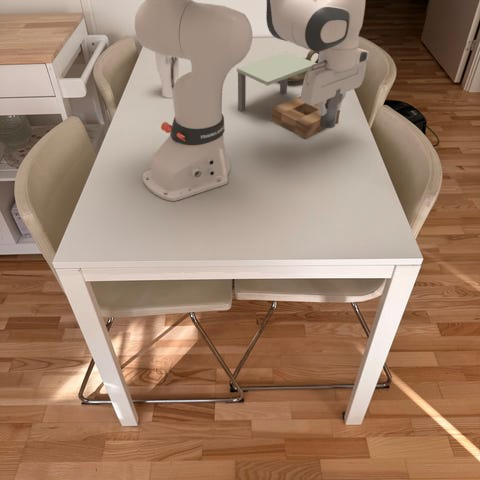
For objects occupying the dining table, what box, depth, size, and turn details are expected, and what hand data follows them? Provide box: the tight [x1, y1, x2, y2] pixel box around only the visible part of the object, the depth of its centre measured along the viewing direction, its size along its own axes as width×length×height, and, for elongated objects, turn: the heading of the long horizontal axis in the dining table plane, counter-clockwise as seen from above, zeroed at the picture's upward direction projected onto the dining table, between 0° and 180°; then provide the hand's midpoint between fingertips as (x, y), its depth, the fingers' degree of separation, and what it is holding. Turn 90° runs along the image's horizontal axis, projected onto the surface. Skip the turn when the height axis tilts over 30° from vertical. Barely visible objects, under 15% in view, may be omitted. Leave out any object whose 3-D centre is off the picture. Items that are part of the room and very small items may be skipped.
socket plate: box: [270, 95, 341, 139], centre depth 134 cm, size 14×14×4 cm
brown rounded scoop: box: [287, 50, 319, 82], centre depth 155 cm, size 14×18×10 cm
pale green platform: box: [236, 51, 317, 113], centre depth 138 cm, size 20×13×13 cm, turn 131°
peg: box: [320, 89, 341, 129], centre depth 116 cm, size 4×4×10 cm
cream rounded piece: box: [154, 52, 180, 99], centre depth 144 cm, size 7×7×15 cm
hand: (329, 111), depth 117 cm, fingers closed on peg, 4 cm apart
